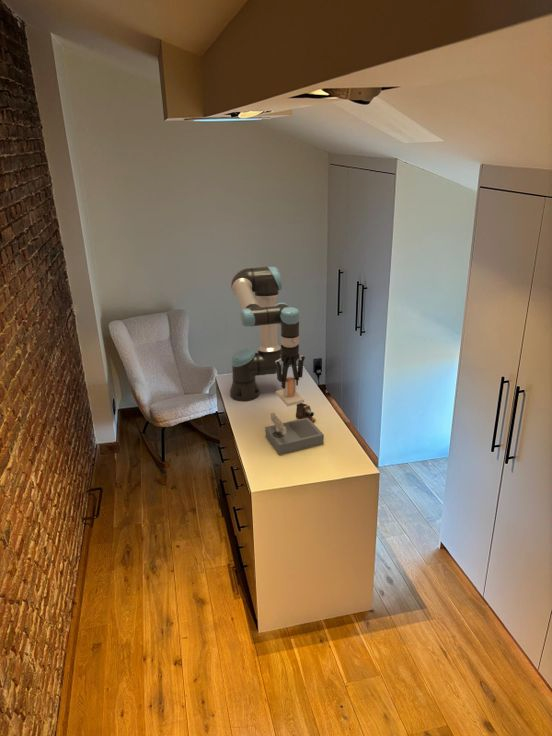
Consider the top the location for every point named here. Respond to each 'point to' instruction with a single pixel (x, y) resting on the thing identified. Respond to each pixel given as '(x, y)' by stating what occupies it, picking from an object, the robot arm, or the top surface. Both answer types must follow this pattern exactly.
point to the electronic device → (304, 412)
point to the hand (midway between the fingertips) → (289, 393)
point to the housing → (295, 436)
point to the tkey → (278, 425)
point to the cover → (290, 394)
